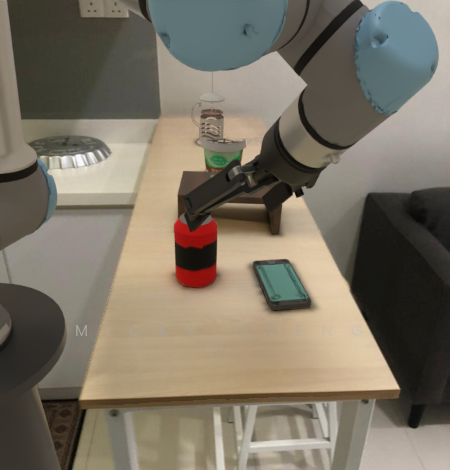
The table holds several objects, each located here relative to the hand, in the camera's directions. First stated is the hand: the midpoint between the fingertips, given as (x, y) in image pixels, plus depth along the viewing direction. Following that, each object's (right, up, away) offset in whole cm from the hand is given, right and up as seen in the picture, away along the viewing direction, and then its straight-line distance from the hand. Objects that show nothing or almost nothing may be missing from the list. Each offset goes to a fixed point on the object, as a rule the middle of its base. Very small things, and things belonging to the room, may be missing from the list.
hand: (229, 213), depth 70 cm
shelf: (0, +6, +38) cm, 38 cm away
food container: (-1, +21, +59) cm, 62 cm away
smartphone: (+9, -10, +16) cm, 21 cm away
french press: (-6, +39, +84) cm, 93 cm away
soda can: (-6, -9, +17) cm, 20 cm away
